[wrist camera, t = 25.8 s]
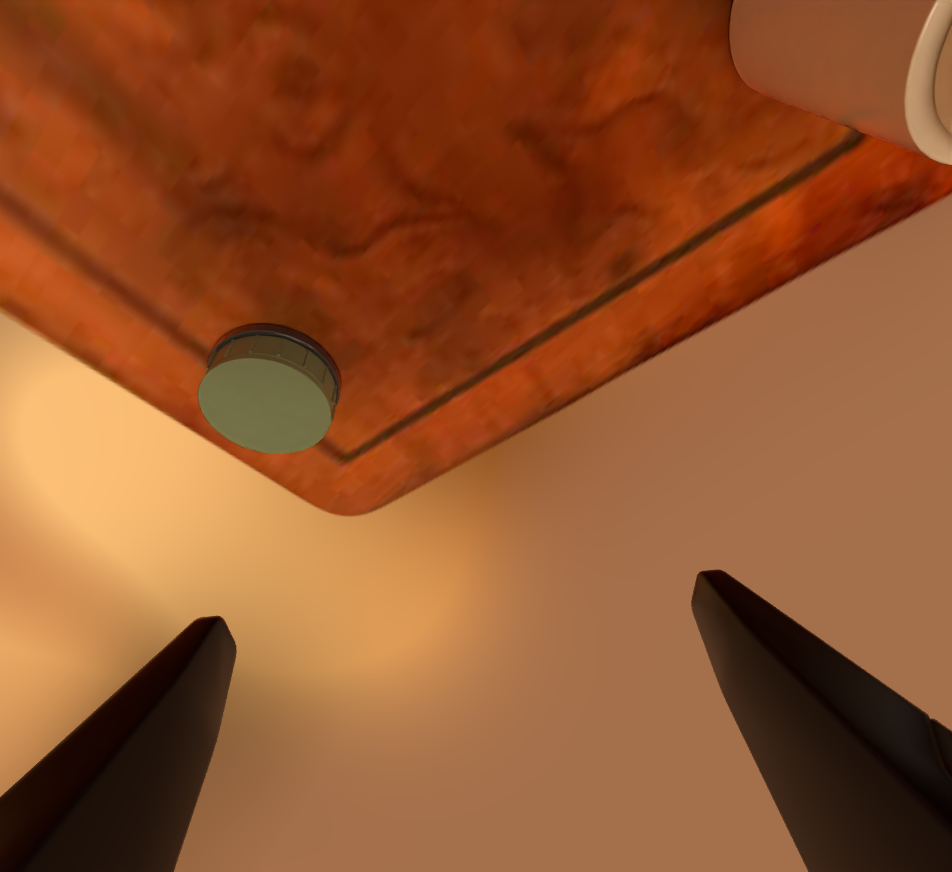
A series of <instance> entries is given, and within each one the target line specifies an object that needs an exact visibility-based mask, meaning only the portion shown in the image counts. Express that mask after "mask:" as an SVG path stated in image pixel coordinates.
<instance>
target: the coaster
mask: <svg viewBox="0 0 952 872" xmlns="http://www.w3.org/2000/svg"><path fill="white" fill-rule="evenodd" d="M256 335H259V336H261V335H263V336H273V337H278V338H282V339H283V338H285V339H286V340H289V341H291V342H294V343H296V344H299V345H300V346H302V347H304V348H306V349H307V350H310V352H312V353H313V354H314V355H316V356H317V357H318V358H319V359H320V360H321V361H322V362H323V363H324V364H325V366H326V367H328V370H329V371H330V373H331V375H332V377H333V380H334V382H335V385H337V389H336V400H335V403H336V405H337V403H338V400H339V395H340V390H341V380H340V375H339V372H338V369H337V367H336V365H335V363H334V361H333V360H332V358H331V357H330V355H329V354H328V353H327V352H326V351H325V350H324V349H323V348H322V347H321V346H320V345H319V344H317V343H316V342H315V341H313V340H312V339H310V338H309V337H307V336H305V335H303V334H301V333H299V332H297V331H294V330H292V329H289V328H285V327H281V326H276V325H268V324H256V325H248V326H244V327H240V328H237V329H235V330H232V331H231V332H229V333H227V334H226V335H224V336H223V337H222V338H221V339H220V340H219V341H218V342H217V343H216V345H215V347H214V349H213V350H212V352H211V354H210V356H209V359H208V363H207V366H208V364H209V362H210V360H211V359H212V357H213V355H214V353H215V352H218V351H219V350H220V349H221V348H222V347H224V346H225V345H226V344H228V343H230V342H231V340H233V339H234V340H236V339H239V338H243V337H248V336H256Z"/></svg>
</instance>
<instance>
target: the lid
mask: <svg viewBox="0 0 952 872" xmlns="http://www.w3.org/2000/svg"><path fill="white" fill-rule="evenodd" d="M206 369H207V371H206V373H205V375H204V377H203V379H202V381H201V383H200V385H199V389H198V402H199V405H200V409H201V411H202V413H203V415H204V417H205V418H206V420H207V421H208V422H209V423H210V425H211V426H212V427H213V428H214V429H215V430H216V431H217V432H219V433H220V434H221V435H223V436H224V437H225V438H227V439H229V440H230V441H232V442H234V443H236V444H238V445H240V446H243V447H245V448H248V449H251V450H254V451H259V452H264V453H273V454H286V453H294V452H298V451H302V450H304V449H307V448H309V447H311V446H313V445H315V444H316V443H318V442H319V441H320V440H321V439H322V438H323V437H324V436H325V434H326V433H327V431H328V429H329V427H330V423H331V421H333V417H334V412H335V407H336V403H335V400H336V389H337V385H335V382H334V380H333V377H332V375H331V373H330V371H329V370H328V367H326V366H325V364H324V363H323V362H322V361H321V360H320V359H319V358H318V357H317V356H316V355H314V354H313V353H312V352H310V350H307V349H306V348H304V347H302V346H300V345H299V344H296V343H294V342H291V341H289V340H286V339H285V338H283V339H282V338H278V337H273V336H263V335H261V336H259V335H256V336H248V337H243V338H239V339H236V340H234V339H233V340H231V342H230V343H228V344H226V345H225V346H224V347H222V348H221V349H220V350H219V351H218V352H215V353H214V355H213V357H212V359H211V360H210V362H209V364H208V366H207V368H206Z"/></svg>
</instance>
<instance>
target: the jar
mask: <svg viewBox="0 0 952 872" xmlns="http://www.w3.org/2000/svg"><path fill="white" fill-rule="evenodd" d="M729 40H730V49H731V54H732V58H733V62H734V65H735V67H736V70H737V72H738V74H739V75H740V77H741V78H742V80H743V81H744V82H745V83H746V84H747V85H748V86H749V87H750V88H751V89H752V90H754V91H755V92H757V93H759V94H761V95H764V96H766V97H769V98H772V99H774V100H777V101H779V102H782V103H785V104H787V105H790V106H792V107H795V108H798V109H800V110H803V111H806V112H808V113H811V114H813V115H816V116H819V117H821V118H824V119H827V120H829V121H832V122H834V123H837V124H840V125H842V126H845V127H848V128H850V129H853V130H855V131H858V132H861V133H863V134H866V135H869V136H871V137H874V138H876V139H879V140H882V141H884V142H887V143H890V144H892V145H895V146H897V147H900V148H903V149H905V150H908V151H911V152H913V153H916V154H918V155H921V156H924V157H926V158H929V159H931V160H934V161H937V162H939V163H943V164H948V165H952V0H733V5H732V10H731V17H730V31H729Z"/></svg>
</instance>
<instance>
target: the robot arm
mask: <svg viewBox="0 0 952 872" xmlns="http://www.w3.org/2000/svg"><path fill="white" fill-rule="evenodd" d="M691 606H692V611H693V615H694V618H695V620H696V623H697V625H698V629H699V631H700V634H701V637H702V639H703V642H704V645H705V648H706V651H707V653H708V656H709V659H710V661H711V664H712V667H713V670H714V672H715V675H716V678H717V681H718V683H719V686H720V688H721V691H722V693H723V695H724V698H725V700H726V702H727V704H728V706H729V708H730V710H731V712H732V714H733V717H734V719H735V721H736V723H737V725H738V727H739V729H740V731H741V733H742V735H743V737H744V739H745V742H746V744H747V745H748V748H749V750H750V752H751V754H752V756H753V758H754V760H755V762H756V764H757V766H758V768H759V771H760V773H761V774H762V777H763V779H764V781H765V783H766V785H767V787H768V789H769V791H770V793H771V795H772V797H773V799H774V801H775V803H776V806H777V807H778V810H779V812H780V814H781V816H782V818H783V820H784V822H785V824H786V826H787V828H788V830H789V833H790V835H791V837H792V838H793V841H794V843H795V845H796V847H797V849H798V851H799V853H800V855H801V857H802V859H803V862H804V864H805V866H806V868H807V870H808V872H952V731H951V730H950V729H948V728H947V727H945V726H944V725H942V724H941V723H940V722H938V721H937V720H935V719H930V718H929V716H928V714H926V713H925V712H924V711H922V710H921V709H919V708H918V707H917V706H915V705H914V704H912V703H911V702H909V701H908V700H907V699H905V698H904V697H902V696H901V695H899V694H898V693H897V692H895V691H894V690H892V689H891V688H889V687H888V686H887V685H885V684H884V683H882V682H881V681H880V680H878V679H877V678H875V677H874V676H872V675H871V674H870V673H868V672H867V671H865V670H864V669H862V668H861V667H860V666H858V665H857V664H855V663H854V662H853V661H851V660H850V659H848V658H847V657H845V656H844V655H843V654H841V653H840V652H838V651H837V650H835V649H834V648H833V647H831V646H830V645H828V644H827V643H825V642H824V641H823V640H821V639H820V638H818V637H817V636H816V635H814V634H813V633H811V632H810V631H808V630H807V629H805V628H804V627H803V626H801V625H800V624H798V623H797V622H796V621H794V620H793V619H791V618H790V617H788V616H787V615H786V614H784V613H783V612H781V611H780V610H778V609H777V608H776V607H774V606H773V605H771V604H770V603H769V602H767V601H766V600H764V599H763V598H761V597H760V596H759V595H757V594H756V593H754V592H753V591H751V590H750V589H749V588H747V587H746V586H744V585H743V584H742V583H740V582H739V581H737V580H735V579H734V578H733V577H731V576H730V575H729V574H727V573H726V572H724V571H722V570H709V571H701V572H700V573H699V574H698V575H697V579H696V583H695V587H694V591H693V596H692V601H691ZM235 658H236V644H235V641H234V639H233V637H232V635H231V633H230V631H229V629H228V626H227V624H226V622H225V621H224V619H223V618H221V617H220V616H211V617H201V618H198V619H196V620H195V621H193V622H192V623H191V624H190V625H189V626H188V627H187V628H185V629H184V630H183V632H181V633H180V634H179V635H178V636H177V637H176V638H175V639H173V640H172V641H171V642H170V643H169V644H168V645H167V646H166V647H165V648H164V649H163V650H161V651H160V652H159V653H158V654H157V655H156V656H155V657H154V658H153V659H151V660H150V661H149V662H148V663H147V664H146V665H145V666H144V667H143V668H142V669H140V670H139V671H138V672H137V673H136V674H135V675H134V676H133V677H132V678H131V679H130V680H128V682H126V683H125V684H124V685H123V686H122V687H121V688H120V689H119V690H117V691H116V692H115V693H114V694H113V695H112V696H111V697H110V698H109V699H108V700H106V701H105V702H104V703H103V704H102V705H101V706H100V707H99V708H98V709H97V710H96V711H94V712H93V713H92V714H91V715H90V716H89V717H88V718H87V719H86V720H84V721H83V722H82V723H81V724H80V725H79V726H78V727H77V728H76V729H75V730H74V731H72V732H71V733H70V734H69V735H68V736H67V737H66V738H65V739H64V740H63V741H61V742H60V743H59V744H58V745H57V746H56V747H55V748H54V749H53V750H52V751H50V752H49V753H48V754H47V755H46V756H45V757H44V758H43V759H42V760H41V761H39V763H37V764H36V765H35V766H34V767H33V768H32V769H31V770H30V771H28V772H27V773H26V774H25V775H24V776H23V777H22V778H21V779H20V780H19V781H18V782H16V783H15V784H14V785H13V786H12V787H11V788H10V789H9V790H8V791H7V792H5V793H4V794H3V795H2V796H1V797H0V872H174V869H175V866H176V863H177V860H178V857H179V854H180V851H181V848H182V845H183V842H184V839H185V836H186V833H187V830H188V827H189V824H190V821H191V818H192V815H193V812H194V809H195V806H196V803H197V800H198V797H199V794H200V790H201V787H202V785H203V782H204V779H205V776H206V773H207V770H208V767H209V763H210V761H211V757H212V755H213V751H214V748H215V745H216V742H217V738H218V733H219V730H220V725H221V721H222V717H223V712H224V708H225V703H226V699H227V694H228V690H229V686H230V681H231V677H232V672H233V667H234V663H235Z"/></svg>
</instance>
